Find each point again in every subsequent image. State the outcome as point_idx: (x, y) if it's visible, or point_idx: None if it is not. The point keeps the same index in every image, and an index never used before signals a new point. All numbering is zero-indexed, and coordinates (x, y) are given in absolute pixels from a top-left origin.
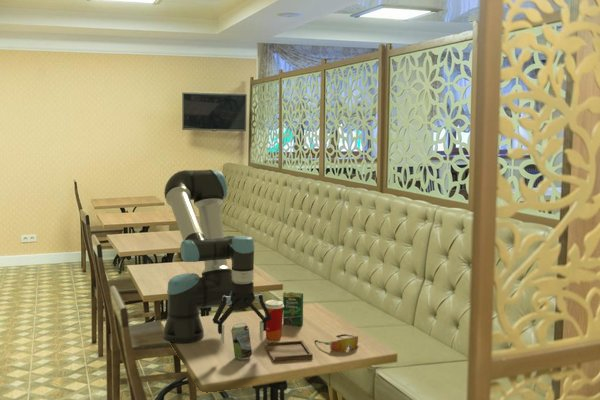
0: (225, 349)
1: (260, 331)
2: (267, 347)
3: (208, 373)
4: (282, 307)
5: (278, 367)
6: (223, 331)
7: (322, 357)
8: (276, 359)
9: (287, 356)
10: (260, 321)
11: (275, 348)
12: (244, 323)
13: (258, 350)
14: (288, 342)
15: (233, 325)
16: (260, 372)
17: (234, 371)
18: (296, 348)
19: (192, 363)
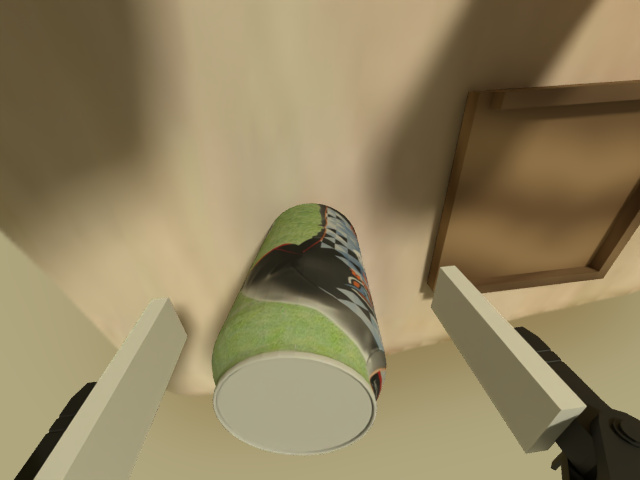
0: (200, 88)
1: (471, 335)
2: (473, 143)
3: None
4: None
5: (427, 318)
6: (139, 435)
7: (629, 249)
8: None
9: (497, 290)
10: (548, 426)
11: (507, 166)
12: (361, 383)
13: (412, 137)
14: (634, 98)
15: (221, 384)
16: None
17: None
18: (606, 178)
19: (58, 279)
